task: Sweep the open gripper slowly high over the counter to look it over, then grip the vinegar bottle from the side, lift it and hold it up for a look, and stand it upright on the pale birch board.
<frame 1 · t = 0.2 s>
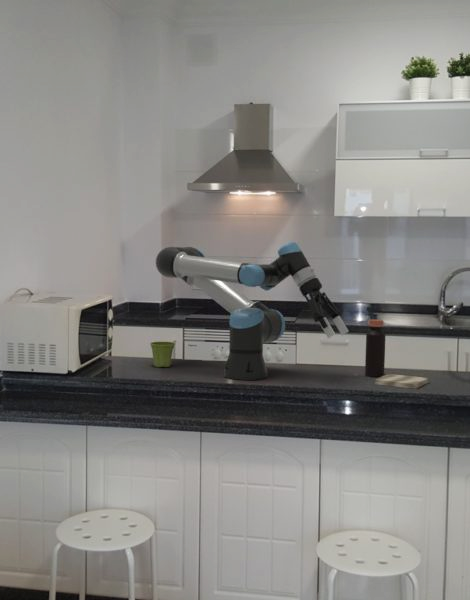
hand: (338, 334, 243), 16 cm above the worktop, tool tilted 35°, fingers open, 13 cm apart
vinegar: (374, 376, 253), on the worktop
plant pot: (162, 366, 265), on the worktop
birch board: (401, 383, 240), on the worktop
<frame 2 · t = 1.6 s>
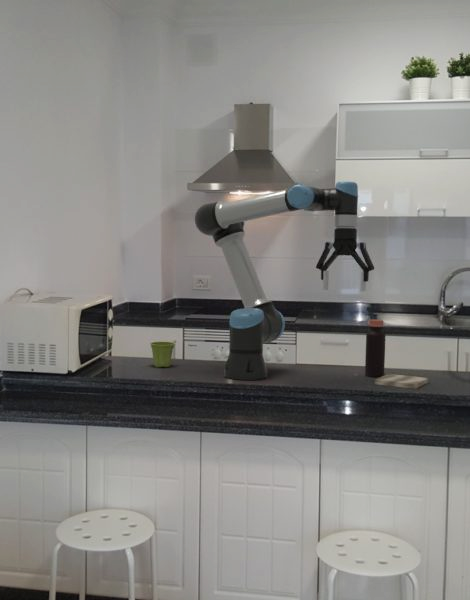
hand: (344, 290, 241), 31 cm above the worktop, tool pointing down, fingers open, 13 cm apart
nothing on the worktop moved.
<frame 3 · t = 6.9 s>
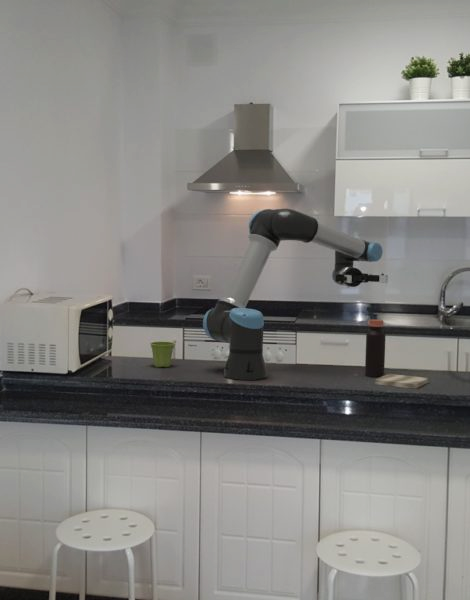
hand: (368, 279, 259), 34 cm above the worktop, tool horizontal, fingers open, 13 cm apart
nothing on the worktop moved.
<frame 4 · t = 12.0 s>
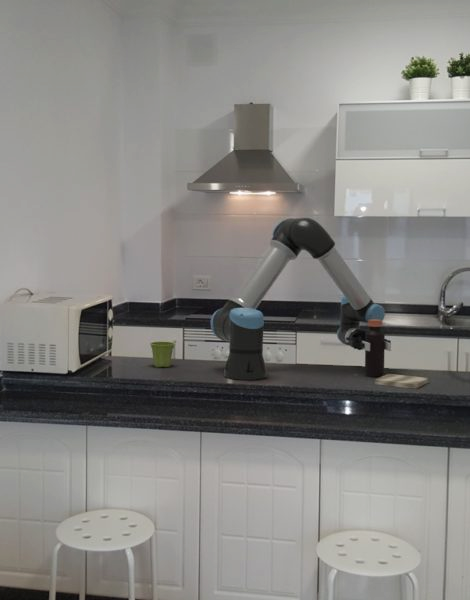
hand: (379, 347, 248), 11 cm above the worktop, tool horizontal, fingers open, 7 cm apart
vinegar: (374, 376, 253), on the worktop, touching gripper
everything else where it was.
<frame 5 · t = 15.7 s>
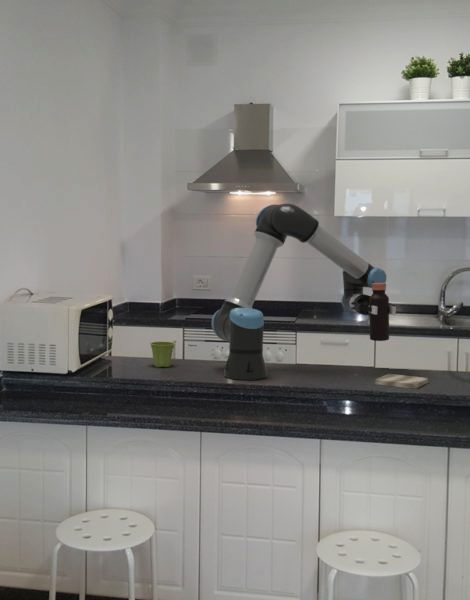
hand: (385, 310, 246), 24 cm above the worktop, tool horizontal, fingers closed on vinegar, 6 cm apart
vinegar: (379, 340, 252), point 13 cm above the worktop, touching gripper
everything else where it was.
when the fingers open (14 cm above the worktop, at t = 19.2 s): vinegar drops 1 cm, resting on birch board.
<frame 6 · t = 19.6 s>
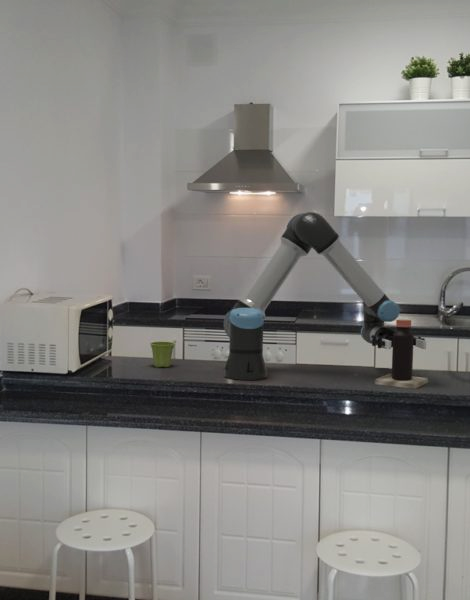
hand: (407, 345, 235), 14 cm above the worktop, tool horizontal, fingers open, 11 cm apart
vinegar: (401, 379, 240), point 1 cm above the worktop, touching birch board
everything else where it was.
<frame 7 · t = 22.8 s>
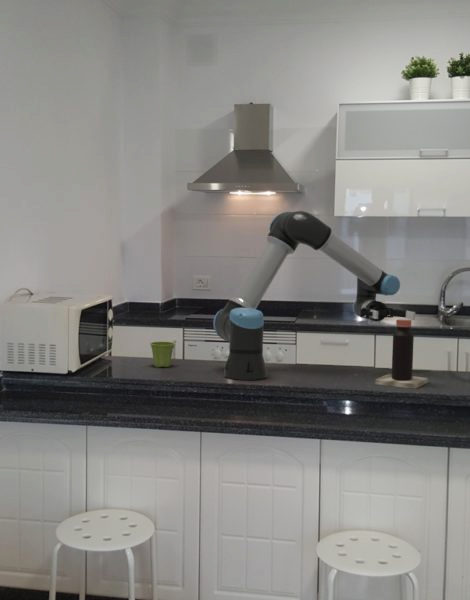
hand: (395, 315, 247), 22 cm above the worktop, tool horizontal, fingers open, 13 cm apart
nothing on the worktop moved.
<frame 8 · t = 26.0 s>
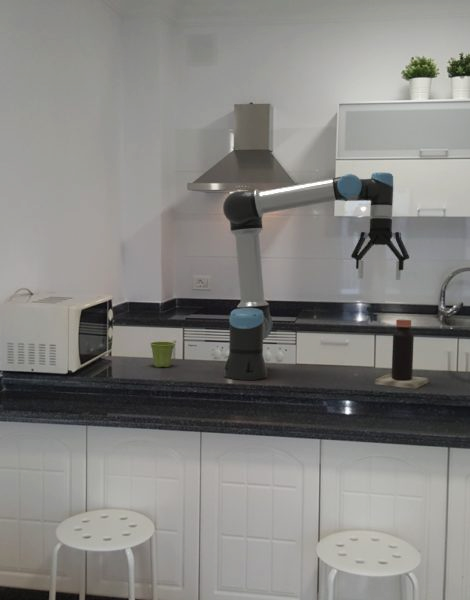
hand: (378, 279, 247), 35 cm above the worktop, tool pointing down, fingers open, 13 cm apart
nothing on the worktop moved.
at the end: vinegar inside the target area on the birch board (0.2 cm from its centre), point 1.3 cm above the birch board's base; vinegar tilted 0°; the gripper is holding nothing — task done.
